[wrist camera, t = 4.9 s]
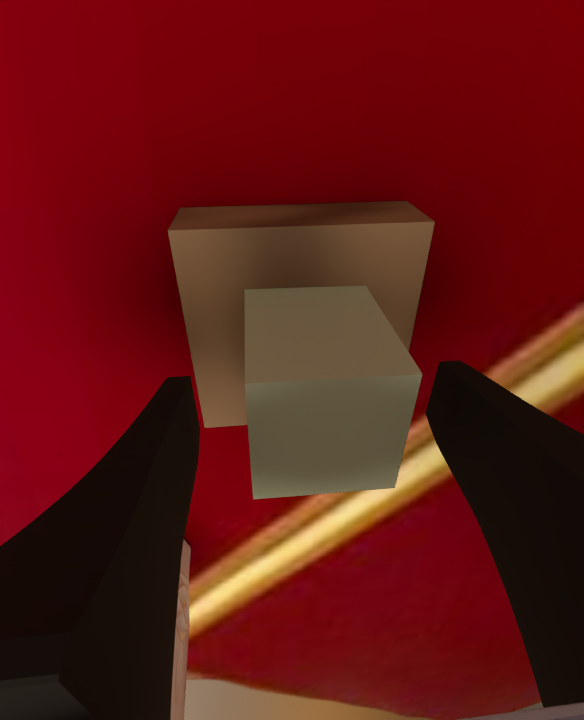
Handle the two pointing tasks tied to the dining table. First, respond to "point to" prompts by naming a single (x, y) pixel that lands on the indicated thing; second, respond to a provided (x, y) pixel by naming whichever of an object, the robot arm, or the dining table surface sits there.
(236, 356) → the walnut base
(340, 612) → the dining table surface
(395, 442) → the green block
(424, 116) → the dining table surface
